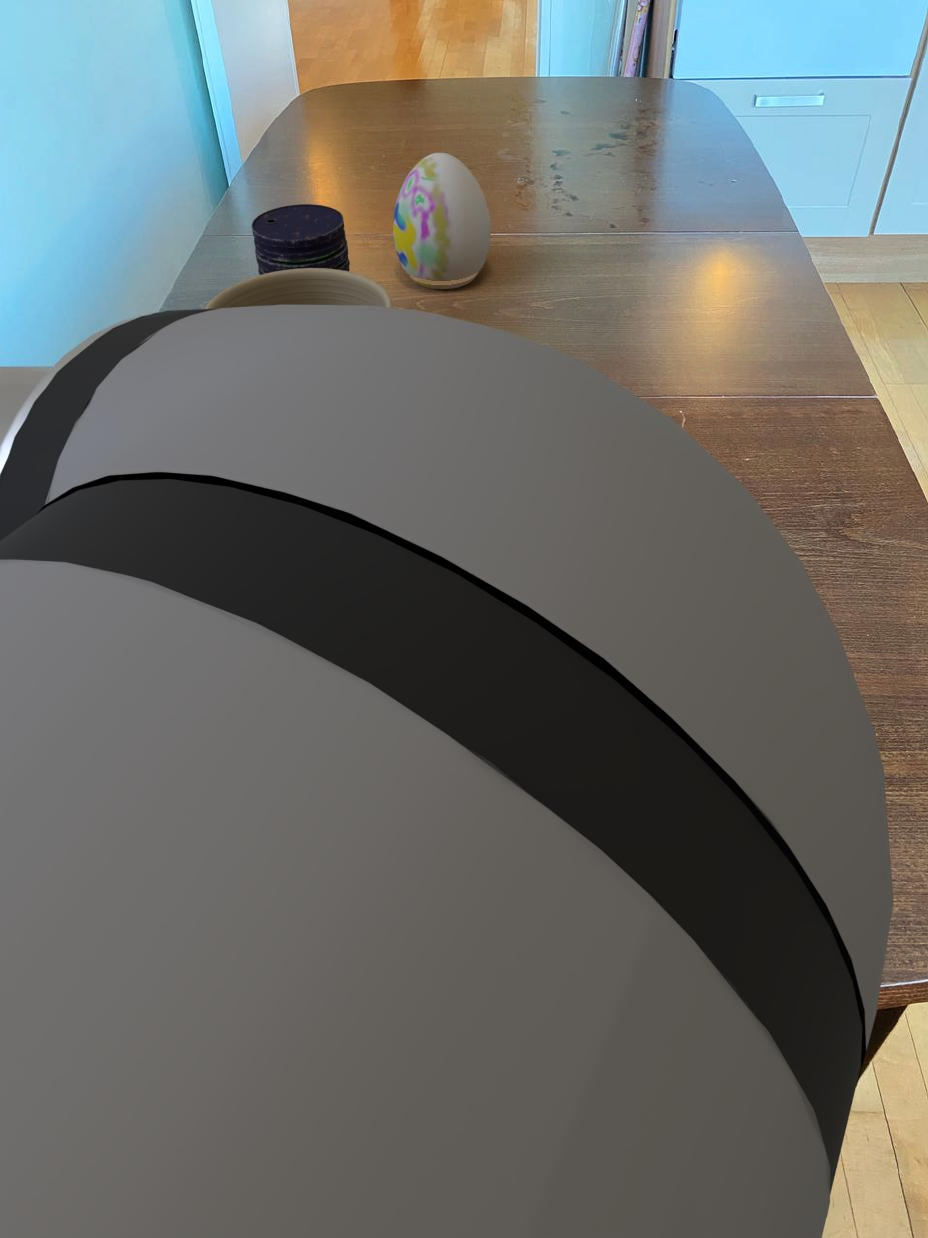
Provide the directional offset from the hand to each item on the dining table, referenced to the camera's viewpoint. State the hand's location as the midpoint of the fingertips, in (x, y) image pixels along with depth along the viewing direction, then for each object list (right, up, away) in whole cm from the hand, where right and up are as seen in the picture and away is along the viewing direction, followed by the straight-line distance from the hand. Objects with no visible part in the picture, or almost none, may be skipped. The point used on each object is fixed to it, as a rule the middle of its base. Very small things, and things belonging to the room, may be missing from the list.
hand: (305, 607), depth 44 cm
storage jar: (-10, +30, +66) cm, 74 cm away
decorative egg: (+5, +44, +80) cm, 91 cm away
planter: (-7, +16, +51) cm, 54 cm away
